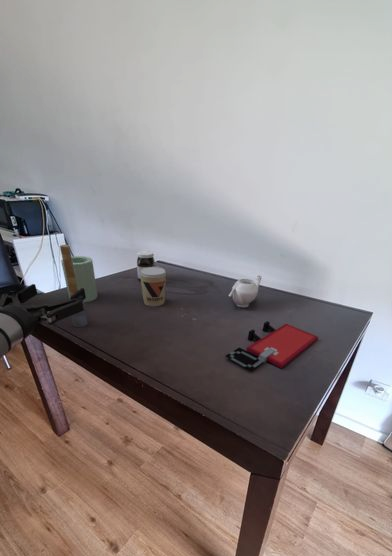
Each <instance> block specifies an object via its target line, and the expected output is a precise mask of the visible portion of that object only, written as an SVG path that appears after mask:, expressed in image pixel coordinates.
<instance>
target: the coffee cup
mask: <svg viewBox="0 0 392 556" xmlns="http://www.w3.org/2000/svg"><path fill="white" fill-rule="evenodd" d="M158 267H159V266H158ZM158 267H157V266H155V267H147V268H143V269H141V271H140V277H141V281H140V283H141V284H140V285H141V292H142V293H141V294H142V300H143V303H144V305H146V306H148V307H160V306H162V305H164V304H165V302H166V301H165V299H166V283H167V282H166V281H167V280H166V279H167V272H166V269H164V268H162V267H160V268H158Z"/></svg>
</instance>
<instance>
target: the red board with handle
mask: <svg viewBox="0 0 392 556" xmlns="http://www.w3.org/2000/svg"><path fill="white" fill-rule="evenodd" d="M270 324H271V323H270V321H268V320H267V321H265V322H263V327H262V332H267V331H270V332H269V333H268V334H266V335H265V336H264V337H262V338H261V337H260V336H259V335H257V334H256V330H255V329H253V328H252V329H251V330H248V334H247V341H252V340H255V342H254V343H252V344H250V345H249V346H246V350H245V349H243V348H242V347H238V348H236V349H234V350H233V351H231V352H229V353H228V354H226V355H225V358H228V359H230V360H231V361H232V362H235V363H237V364H238V365H240V366H242V367H243V368H246V369H247V370H249V371H252V370H253V369H255V368H256V367H258V366H259V365H261V364H266V363H267V362H269V363H270V364H272V365H274V366H276V367H278V368H280V369H283V368H285V366H288V364H289V363H291V362H292V361H293V360H294V359H296V358H297V357H298V356H299V355H300V354H302V353H303V352H304V351H305V350H307V349H308V348H309V347H310V346H311V345H313V344H314V343H316V342H317V341H318V340H319V336H317V335H315V334H312V333H310V332H307V331H305V330H303V329H300V328H298V327H296V326H293V325H290V324H287V323H285V324H283V325H281V326H279V327H278V328H276V329H275V328H274V327H273V326H271V325H270Z"/></svg>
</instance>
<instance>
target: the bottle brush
mask: <svg viewBox="0 0 392 556" xmlns="http://www.w3.org/2000/svg"><path fill="white" fill-rule="evenodd" d="M59 248H60V253H61V254H60V255H61V260H62V259H63V263H64V268H65V273H66V278H67V283H68V287H69V292H70V297H71V296H72V295H74V294H75V293H76V292H77V291H78V288H77V283H76V277H75V272H74V267H73V262H72V257H73V256H72V253H71V246H70V245H69V244H61V245H59ZM83 307H84V311H81V312H79V313H77V314H74V315H72V316H70V318H71V323H72V326H73V327H74V328H84V327H86V326H87V325H88V324H89V322H88V317H87V312H86V307H85V302H83Z"/></svg>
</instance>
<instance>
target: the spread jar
mask: <svg viewBox="0 0 392 556" xmlns="http://www.w3.org/2000/svg"><path fill="white" fill-rule="evenodd" d="M147 267H158V268H161V267H160V266H158V265H157V266H156V259H155V255H154V252H153V251H151V250H140V251H138V252H137V259H136V270H137V279H138V280H139V281H140V282H141V277H140V271H141V269H143V268H147Z"/></svg>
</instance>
